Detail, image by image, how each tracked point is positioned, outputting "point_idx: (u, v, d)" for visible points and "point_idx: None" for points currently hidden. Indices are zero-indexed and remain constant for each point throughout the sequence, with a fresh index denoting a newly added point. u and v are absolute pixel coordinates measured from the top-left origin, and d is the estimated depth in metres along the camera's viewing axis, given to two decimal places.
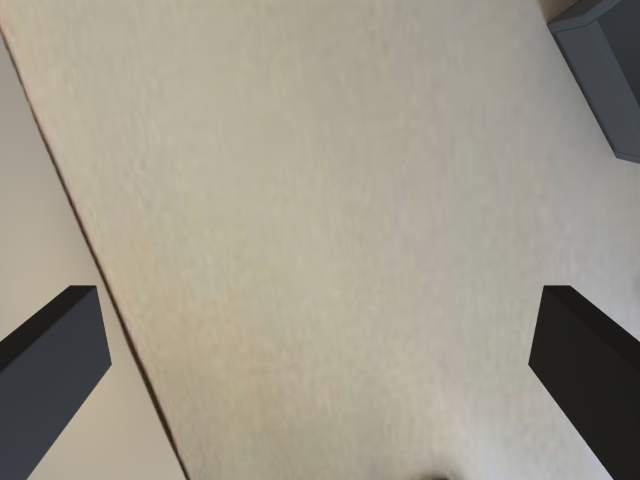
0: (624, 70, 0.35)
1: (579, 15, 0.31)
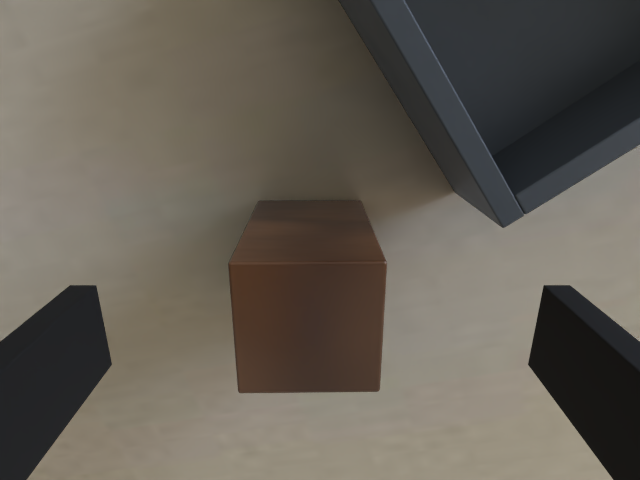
0: (581, 25, 0.16)
1: (496, 222, 0.14)
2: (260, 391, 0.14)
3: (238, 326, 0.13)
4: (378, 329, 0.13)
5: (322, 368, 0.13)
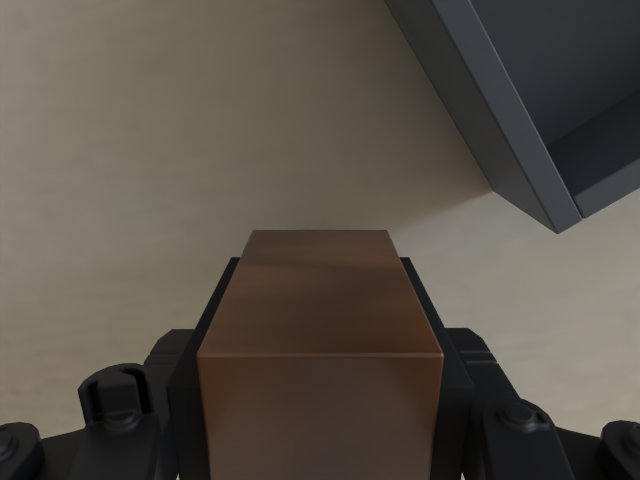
0: None
1: (548, 227, 0.13)
2: None
3: (214, 443, 0.08)
4: (426, 448, 0.08)
5: None
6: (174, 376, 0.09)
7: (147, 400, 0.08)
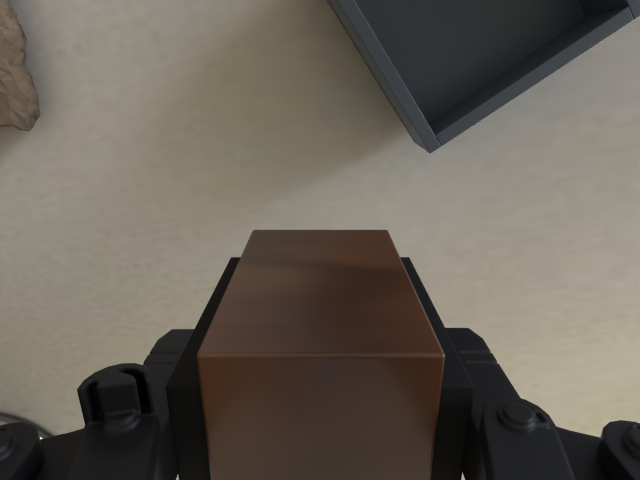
0: (482, 42, 0.28)
1: None
2: None
3: (214, 444, 0.08)
4: (427, 449, 0.08)
5: None
6: (174, 376, 0.09)
7: (147, 400, 0.08)
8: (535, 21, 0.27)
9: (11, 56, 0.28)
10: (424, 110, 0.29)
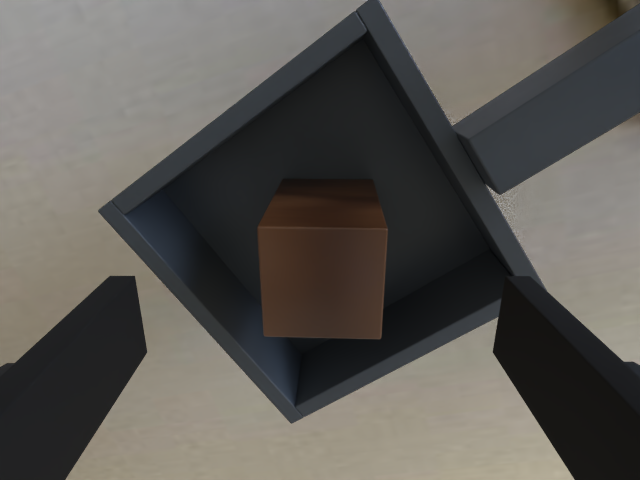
0: None
1: None
2: (281, 335, 0.16)
3: (264, 280, 0.15)
4: (380, 285, 0.15)
5: (333, 317, 0.16)
6: None
7: None
8: (428, 252, 0.22)
9: None
10: (304, 337, 0.25)
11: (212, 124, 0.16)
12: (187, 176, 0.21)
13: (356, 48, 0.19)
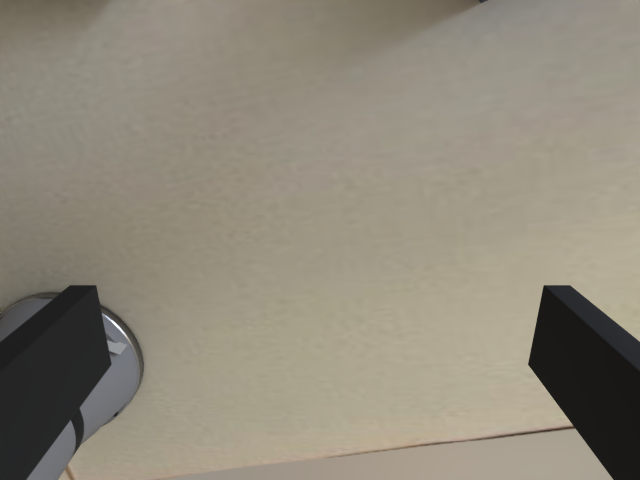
0: None
1: None
2: None
3: None
4: None
5: None
6: None
7: None
8: None
9: None
10: None
11: None
12: None
13: None
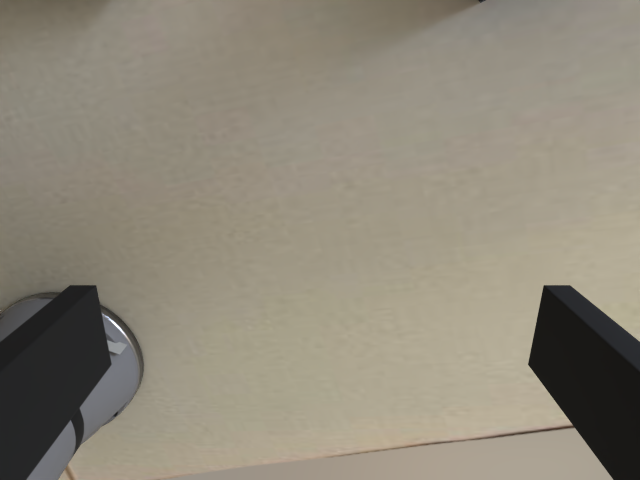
0: None
1: None
2: None
3: None
4: None
5: None
6: None
7: None
8: None
9: None
10: None
11: None
12: None
13: None
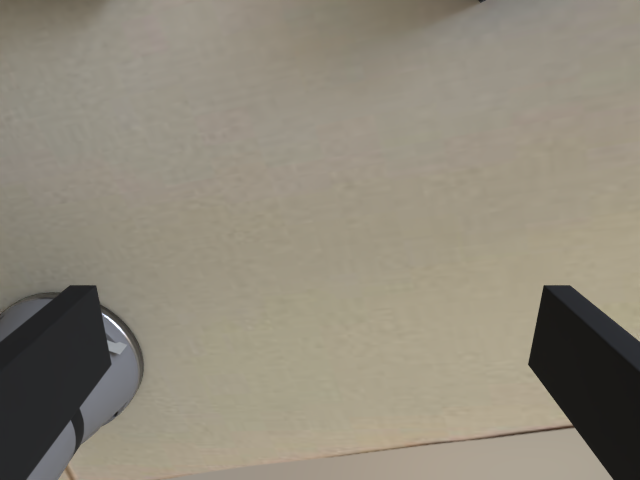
0: None
1: None
2: None
3: None
4: None
5: None
6: None
7: None
8: None
9: None
10: None
11: None
12: None
13: None
